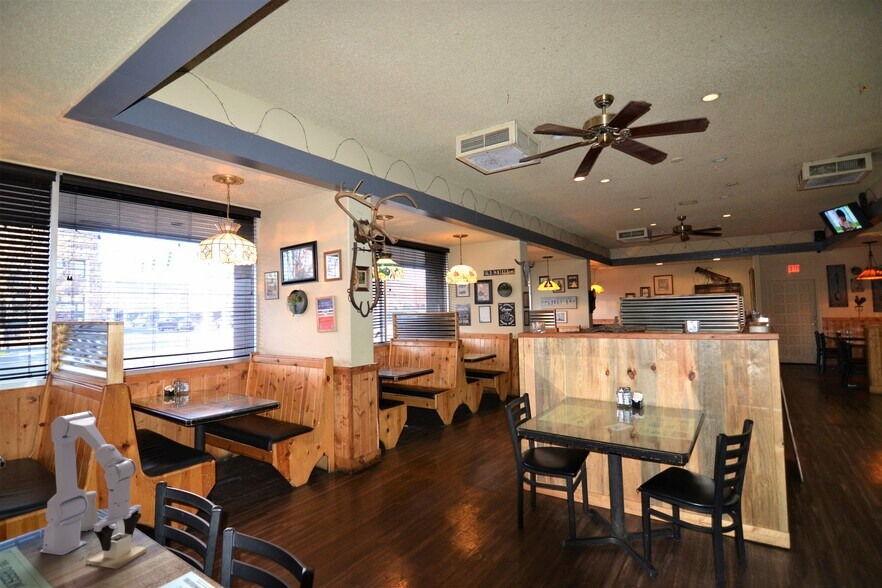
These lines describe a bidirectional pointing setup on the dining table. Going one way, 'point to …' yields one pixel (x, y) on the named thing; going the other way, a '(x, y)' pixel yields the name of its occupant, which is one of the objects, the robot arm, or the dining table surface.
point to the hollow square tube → (118, 546)
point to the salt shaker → (90, 513)
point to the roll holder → (118, 562)
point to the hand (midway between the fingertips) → (117, 544)
